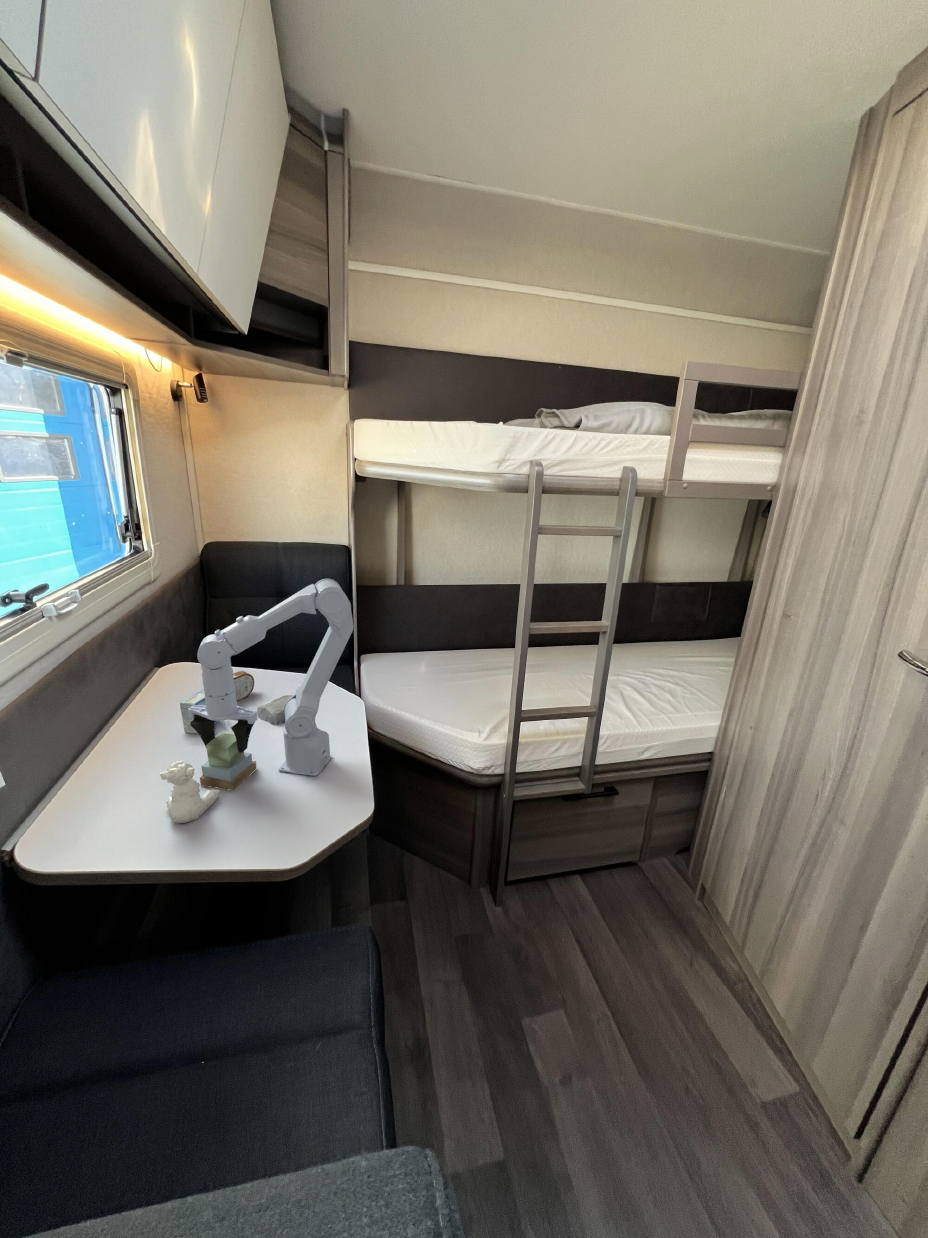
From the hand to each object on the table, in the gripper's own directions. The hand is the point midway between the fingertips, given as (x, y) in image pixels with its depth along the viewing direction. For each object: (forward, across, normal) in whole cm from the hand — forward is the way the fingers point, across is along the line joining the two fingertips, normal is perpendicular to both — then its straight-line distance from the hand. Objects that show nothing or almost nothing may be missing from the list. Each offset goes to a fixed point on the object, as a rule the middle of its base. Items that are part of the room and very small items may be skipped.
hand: (226, 748), depth 101 cm
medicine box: (+8, +20, -19) cm, 29 cm away
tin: (+8, +21, -33) cm, 40 cm away
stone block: (+8, +4, -30) cm, 31 cm away
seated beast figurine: (+8, +1, +12) cm, 14 cm away
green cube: (+3, 0, 0) cm, 3 cm away
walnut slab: (+8, 0, 0) cm, 8 cm away
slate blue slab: (+5, 0, 0) cm, 5 cm away
